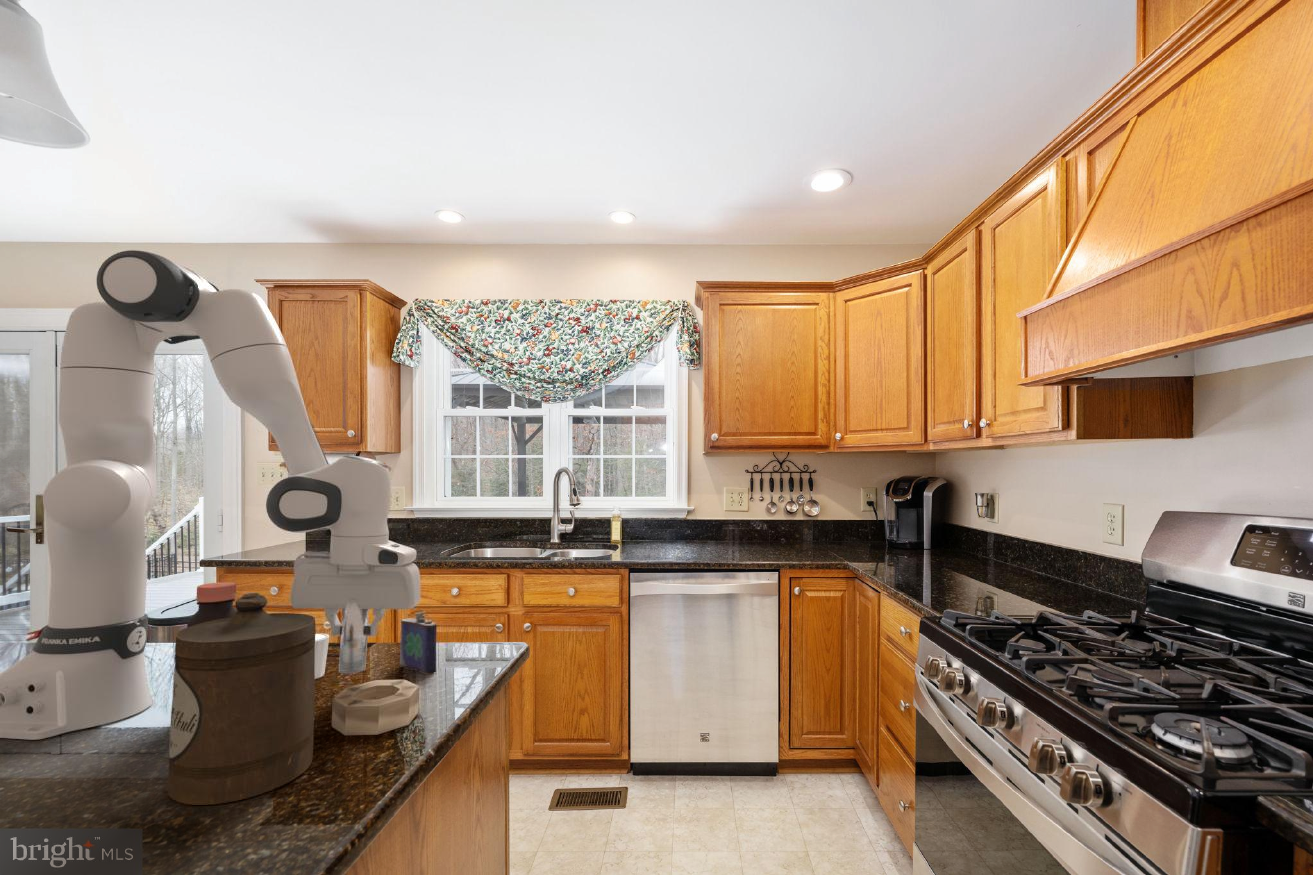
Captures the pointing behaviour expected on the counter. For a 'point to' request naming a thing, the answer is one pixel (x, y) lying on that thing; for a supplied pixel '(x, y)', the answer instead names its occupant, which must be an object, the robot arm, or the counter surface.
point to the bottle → (214, 602)
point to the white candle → (353, 638)
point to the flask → (418, 644)
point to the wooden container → (241, 704)
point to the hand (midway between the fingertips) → (354, 635)
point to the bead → (375, 707)
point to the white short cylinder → (320, 653)
